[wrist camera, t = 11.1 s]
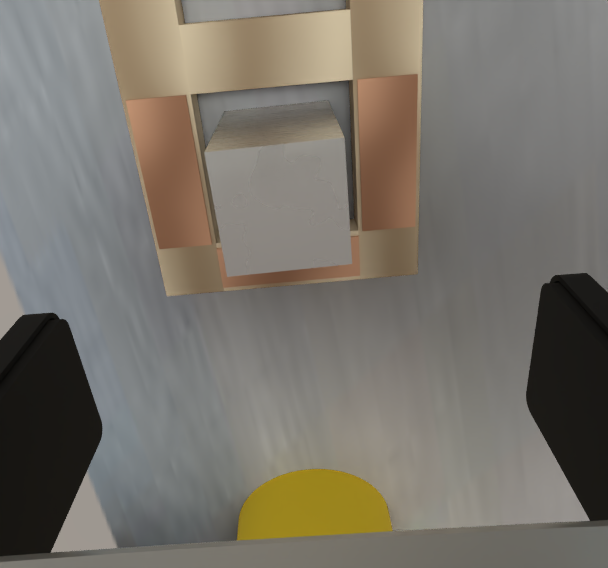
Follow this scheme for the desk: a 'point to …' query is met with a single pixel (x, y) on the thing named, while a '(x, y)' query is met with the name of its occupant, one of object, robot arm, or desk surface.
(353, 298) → the desk surface
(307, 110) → the steel block
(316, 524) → the tape roll
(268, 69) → the hole rail
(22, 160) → the desk surface
